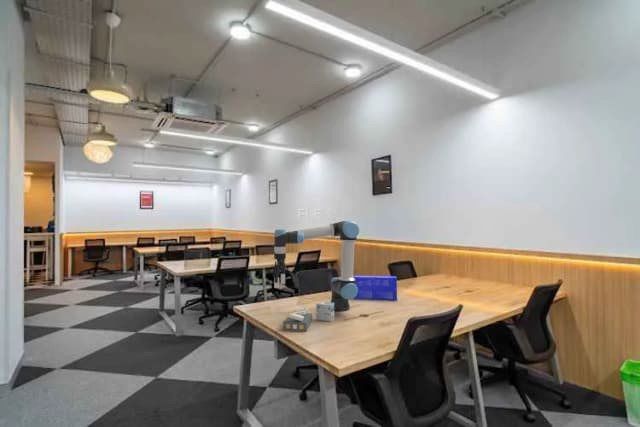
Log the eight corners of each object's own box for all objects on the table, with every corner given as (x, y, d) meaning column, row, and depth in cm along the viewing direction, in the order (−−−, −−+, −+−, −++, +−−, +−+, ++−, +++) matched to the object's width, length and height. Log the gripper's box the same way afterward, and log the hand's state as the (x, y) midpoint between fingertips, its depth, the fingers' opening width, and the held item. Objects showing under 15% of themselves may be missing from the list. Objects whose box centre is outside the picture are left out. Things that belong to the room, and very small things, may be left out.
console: (312, 321, 212) (312, 311, 212) (306, 331, 192) (306, 321, 192) (291, 320, 214) (291, 311, 214) (283, 330, 194) (283, 320, 194)
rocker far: (307, 309, 211) (307, 306, 211) (306, 311, 207) (306, 308, 207) (294, 312, 212) (294, 309, 212) (293, 314, 208) (292, 311, 208)
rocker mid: (306, 312, 204) (305, 309, 204) (304, 314, 200) (304, 311, 201) (292, 315, 206) (291, 312, 206) (290, 317, 202) (290, 314, 202)
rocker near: (303, 319, 198) (304, 316, 198) (302, 321, 194) (302, 318, 194) (289, 315, 199) (290, 312, 199) (287, 317, 195) (288, 313, 195)
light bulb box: (334, 318, 218) (334, 302, 218) (331, 321, 211) (331, 304, 211) (319, 317, 221) (319, 301, 221) (316, 320, 215) (316, 303, 215)
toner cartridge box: (396, 298, 273) (396, 276, 274) (397, 300, 265) (396, 277, 266) (350, 296, 280) (350, 275, 281) (349, 298, 272) (349, 276, 273)
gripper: (280, 251, 228) (280, 281, 227) (268, 254, 203) (267, 289, 203) (290, 251, 226) (290, 282, 226) (279, 255, 202) (279, 289, 201)
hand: (279, 285), depth 214 cm, fingers open, 13 cm apart
